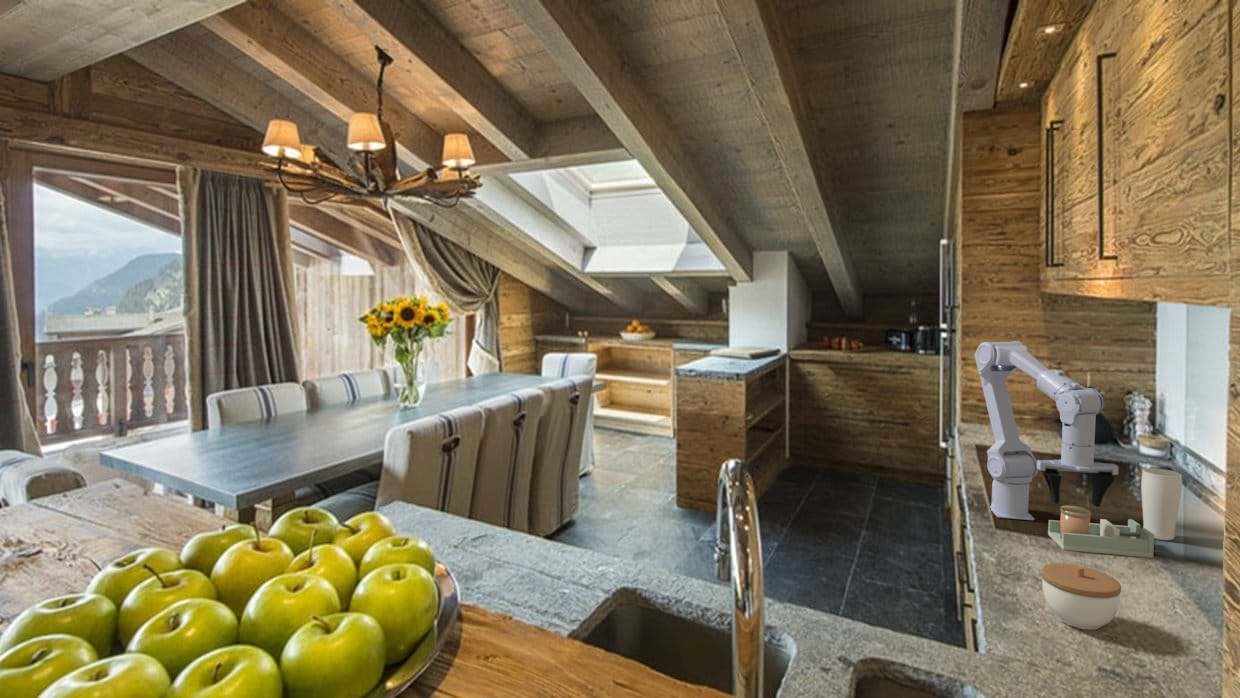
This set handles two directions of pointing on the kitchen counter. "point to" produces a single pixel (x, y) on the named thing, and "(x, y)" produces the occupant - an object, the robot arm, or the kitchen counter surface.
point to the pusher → (1114, 530)
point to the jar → (1074, 520)
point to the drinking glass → (1160, 501)
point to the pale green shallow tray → (1105, 540)
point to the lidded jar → (1080, 595)
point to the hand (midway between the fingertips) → (1075, 503)
